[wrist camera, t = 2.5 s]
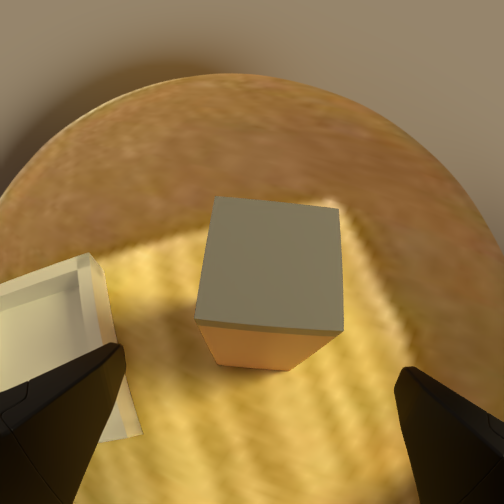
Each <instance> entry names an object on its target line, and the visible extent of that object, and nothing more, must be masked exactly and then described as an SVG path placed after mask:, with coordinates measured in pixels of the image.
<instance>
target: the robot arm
mask: <svg viewBox="0 0 504 504" xmlns="http://www.w3.org/2000/svg"><path fill="white" fill-rule="evenodd" d="M125 371H126V361H125V354H124V348H123V346H122V345H121V344H118V343H114V342H109V343H107V344H105V345H103V346H101V347H99V348H97V349H95V350H92V351H90V352H88V353H86V354H84V355H82V356H80V357H78V358H76V359H73V360H71V361H69V362H67V363H65V364H63V365H61V366H58V367H56V368H54V369H52V370H50V371H48V372H46V373H43V374H41V375H39V376H37V377H35V378H32V379H30V380H29V381H26V382H24V383H21V384H19V385H17V386H15V387H12V388H10V389H8V390H5V391H2V392H0V504H73V501H74V499H75V496H76V494H77V491H78V489H79V486H80V484H81V481H82V479H83V476H84V474H85V472H86V469H87V467H88V464H89V462H90V460H91V457H92V455H93V453H94V451H95V448H96V446H97V444H98V441H99V439H100V437H101V435H102V432H103V430H104V428H105V426H106V424H107V421H108V419H109V417H110V415H111V412H112V410H113V408H114V405H115V402H116V399H117V396H118V393H119V389H120V386H121V383H122V380H123V377H124V374H125ZM394 394H395V399H396V405H397V410H398V415H399V421H400V426H401V430H402V434H403V438H404V441H405V445H406V448H407V452H408V455H409V459H410V463H411V467H412V471H413V474H414V478H415V482H416V486H417V491H418V495H419V499H420V504H504V422H502V421H501V420H499V419H497V418H496V417H494V416H493V415H491V414H489V413H487V412H486V411H484V410H483V409H481V408H480V407H478V406H476V405H475V404H473V403H472V402H470V401H468V400H467V399H465V398H464V397H462V396H460V395H459V394H457V393H456V392H454V391H452V390H451V389H449V388H448V387H446V386H445V385H443V384H441V383H440V382H438V381H437V380H435V379H433V378H432V377H430V376H429V375H427V374H426V373H424V372H422V371H421V370H419V369H418V368H416V367H413V366H412V367H404V368H403V369H402V370H401V372H400V374H399V377H398V379H397V382H396V384H395V387H394Z"/></svg>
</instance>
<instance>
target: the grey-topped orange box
mask: <svg viewBox="0 0 504 504" xmlns="http://www.w3.org/2000/svg"><path fill="white" fill-rule="evenodd" d="M194 319H195V321H196V323H197V325H198V327H199V330H200V332H201V334H202V336H203V338H204V340H205V342H206V344H207V346H208V348H209V350H210V352H211V353H212V355H213V357H214V359H215V361H216V363H217V365H225V366H235V367H245V368H256V369H269V370H284V371H290V370H291V369H293V368H294V367H296V366H297V365H298V364H300V363H301V362H303V361H304V360H305V359H307V358H308V357H310V356H311V355H312V354H314V353H315V352H317V351H318V350H319V349H321V348H322V347H323V346H325V345H326V344H327V343H329V342H330V341H331V340H333V339H334V338H335V337H336V336H338V335H339V334H340V333H342V332H343V331H344V311H343V274H342V252H341V235H340V221H339V209H335V208H327V207H319V206H310V205H302V204H293V203H283V202H274V201H264V200H253V199H242V198H231V197H219V196H215V200H214V205H213V210H212V216H211V221H210V226H209V232H208V237H207V243H206V249H205V254H204V260H203V266H202V272H201V278H200V284H199V290H198V296H197V303H196V309H195V316H194Z"/></svg>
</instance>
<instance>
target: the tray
mask: <svg viewBox="0 0 504 504" xmlns="http://www.w3.org/2000/svg"><path fill="white" fill-rule="evenodd" d="M109 342H114V343H118V342H117V338H116V333H115V329H114V324H113V319H112V314H111V308H110V303H109V297H108V291H107V285H106V278H105V272H104V270H103V269H102V268H101V267H100V265H99V264H98V263H97V262H96V261H95V259H94V258H93V257H92V256H91V254H90V253H86V254H83V255H80V256H77V257H74V258H71V259H68V260H65V261H62V262H59V263H57V264H54V265H51V266H48V267H45V268H42V269H40V270H37V271H34V272H31V273H29V274H26V275H23V276H21V277H18V278H15V279H13V280H10V281H7V282H5V283H2V284H0V392H2V391H5V390H8V389H10V388H12V387H15V386H17V385H19V384H21V383H24V382H26V381H29V380H30V379H32V378H35V377H37V376H39V375H41V374H43V373H46V372H48V371H50V370H52V369H54V368H56V367H58V366H61V365H63V364H65V363H67V362H69V361H71V360H73V359H76V358H78V357H80V356H82V355H84V354H86V353H88V352H90V351H92V350H95V349H97V348H99V347H101V346H103V345H105V344H107V343H109ZM141 434H143V432H142V429H141V426H140V423H139V420H138V417H137V413H136V410H135V407H134V404H133V400H132V397H131V393H130V390H129V386H128V383H127V379H126V375H125V374H124V377H123V380H122V383H121V386H120V389H119V393H118V396H117V399H116V402H115V405H114V408H113V410H112V412H111V415H110V417H109V419H108V421H107V424H106V426H105V428H104V430H103V432H102V435H101V437H100V439H99V441H98V443H100V442H107V441H113V440H118V439H124V438H129V437H133V436H137V435H141Z"/></svg>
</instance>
